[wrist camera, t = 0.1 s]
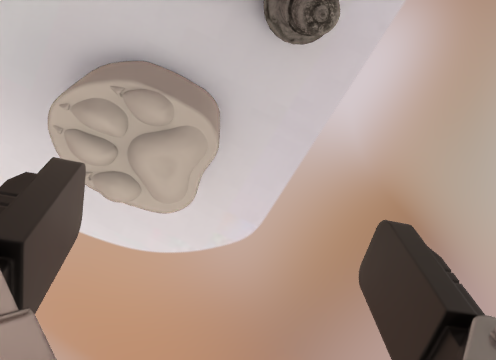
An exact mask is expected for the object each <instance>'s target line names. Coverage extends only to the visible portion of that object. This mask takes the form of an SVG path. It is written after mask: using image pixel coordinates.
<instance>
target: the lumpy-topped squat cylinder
mask: <svg viewBox="0 0 496 360" xmlns="http://www.w3.org/2000/svg"><path fill="white" fill-rule="evenodd" d="M48 130H49V134H50V137H51V140H52V142H53V145H54V147H55V149H56V151H57V153H58V155H59V156H60V158H61V159H66V160H71V161H76V162H82V163H85V166H86V176H85V185H87V186H88V187H90V188H92V189H93V190H95V191H97V192H99V193H101V194H102V195H103V196H104V197H105V198H107V199H109V200H111V201H114V202H120V203H125V204H128V205H131V206H135V207H138V208H141V209H144V210H148V211H151V212H156V213H172V212H176V211H179V210H181V209H184V208H185V207H187V206H188V205H189V204H190V203H191V202H192V201H193V199H194V197H195V195H196V193H197V189H198V186H199V182H200V179H201V177H202V174H203V173H204V171H205V169H206V168H207V167H208V165H209V164H210V163H211V162H212V160H213V159H214V157H215V155H216V153H217V151H218V148H219V132H220V112H219V108H218V106H217V104H216V102H215V100H214V99H213V97H212V96H211V95H210V94H209V93H208V92H207V91H205V90H204V89H203V88H201V87H200V86H198V85H196V84H195V83H193V82H191V81H189V80H188V79H186V78H184V77H182V76H180V75H178V74H176V73H174V72H172V71H170V70H168V69H165V68H163V67H160V66H158V65H155V64H152V63H149V62H144V61H126V62H117V63H111V64H107V65H104V66H101V67H99V68H97V69H95V70H93V71H92V72H90V73H89V74H87V75H86V76H85V77H83V78H82V79H81V80H79V81H78V82H76V83H75V84H74V85H73V86H71V87H70V88H69V89H67V90H66V91H65V92H64V93H62V94H61V95H60V96H59V97H58V98H57V99H56V100H55V101H54V102H53V104H52V106H51V108H50V110H49V114H48Z"/></svg>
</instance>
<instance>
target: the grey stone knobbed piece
mask: <svg viewBox="0 0 496 360" xmlns="http://www.w3.org/2000/svg"><path fill="white" fill-rule="evenodd" d="M264 13H265V18H266V21H267V23H268V25H269V27H270V29H271V30H272V31H273V32H274V34H275V35H276V36H277V37H279V38H280V39H282V40H283V41H285V42H288V43H291V44H307V43H311V42H313V41H315V40H317V39H319V38H321V37H322V36H323V35H324V34H325V33H327V32H329V31H330V30H331V29H332V28H333V27H334V26H335V25H336V23H337V21H338V19H339V16H340V4H339V0H264Z"/></svg>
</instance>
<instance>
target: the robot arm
mask: <svg viewBox="0 0 496 360" xmlns="http://www.w3.org/2000/svg"><path fill="white" fill-rule="evenodd" d="M85 176H86V166H85V163H82V162H76V161H71V160H66V159H60V158H55V157H53V158H52V159H50V161H49V162H48V163H47V164H46V165H45V166H44V167H43V168H42V169H41V170H40V171H39V172H38V174H34V173H29V172H25V173H23V174H20V175H18V176H16V177H13V178H11V179H8V180H7V181H6V182H5V183H4V184H3V185H2V186H1V187H0V360H56V358H55V356H54V354H53V352H52V349H51V348H50V345H49V343H48V341H47V339H46V337H45V335H44V333H43V331H42V329H41V327H40V325H39V322H38V320H37V318H36V316H35V313H36V311H37V309H38V308H39V305H40V304H41V302H42V300H43V298H44V297H45V295H46V293H47V291H48V289H49V288H50V286H51V284H52V282H53V280H54V279H55V277H56V275H57V273H58V271H59V269H60V268H61V266H62V264H63V262H64V260H65V259H66V257H67V255H68V253H69V251H70V250H71V248H72V246H73V244H74V242H75V240H76V238H77V236H78V233H79V230H80V226H81V221H82V212H83V200H84V188H85ZM359 284H360V287H361V290H362V292H363V295H364V297H365V299H366V302H367V304H368V306H369V308H370V311H371V313H372V315H373V318H374V320H375V322H376V325H377V327H378V329H379V331H380V334H381V336H382V338H383V341H384V343H385V345H386V348H387V350H388V352H389V354H390V357H391V359H392V360H496V318H495V317H492V316H486V315H485V314H484V313H483V312H482V310H481V309H480V308H479V306H478V305H477V304H476V302H475V301H474V300H473V298H472V297H471V296H470V295H469V293H468V292H467V291H466V289H465V288H464V287H463V285H462V284H459V280H458V279H457V278H456V276H455V275H454V274H453V273H451V270H450V268H449V267H448V266H447V264H446V263H445V262H444V261H443V259H442V258H441V257H440V256H439V255H438V254H436V253H435V252H434V251H432V250H431V249H430V248H429V247H428V246H427V245H426V244H425V243H424V241H423V240H422V239H421V237H420V236H419V235H418V233H417V232H416V231H415V229H414V228H413V227H412V226H411V225H409V224H403V223H398V222H392V221H387V220H383V221H382V222H380V223H379V225H378V226H377V228H376V231H375V233H374V235H373V238H372V240H371V242H370V245H369V247H368V249H367V252H366V254H365V256H364V259H363V261H362V263H361V266H360V270H359Z"/></svg>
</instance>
